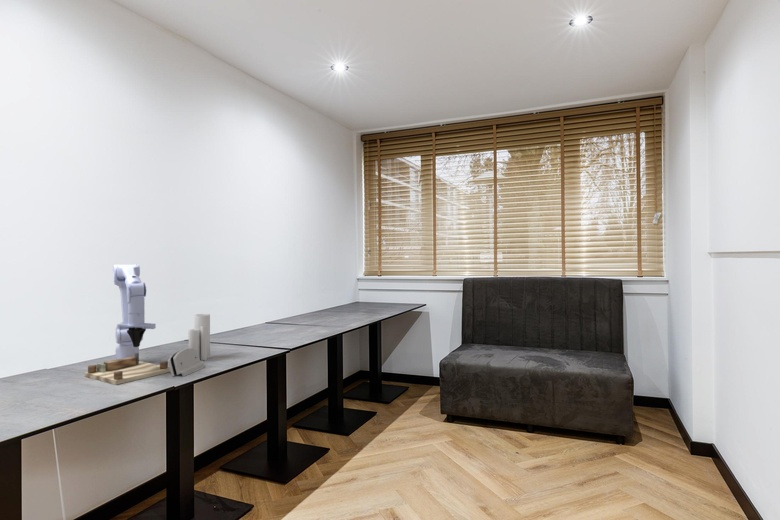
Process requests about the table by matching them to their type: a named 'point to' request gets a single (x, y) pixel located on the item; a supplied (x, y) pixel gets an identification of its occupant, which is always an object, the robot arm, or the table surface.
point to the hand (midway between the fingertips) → (136, 346)
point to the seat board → (126, 371)
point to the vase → (200, 336)
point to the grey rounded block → (185, 362)
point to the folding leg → (120, 363)
